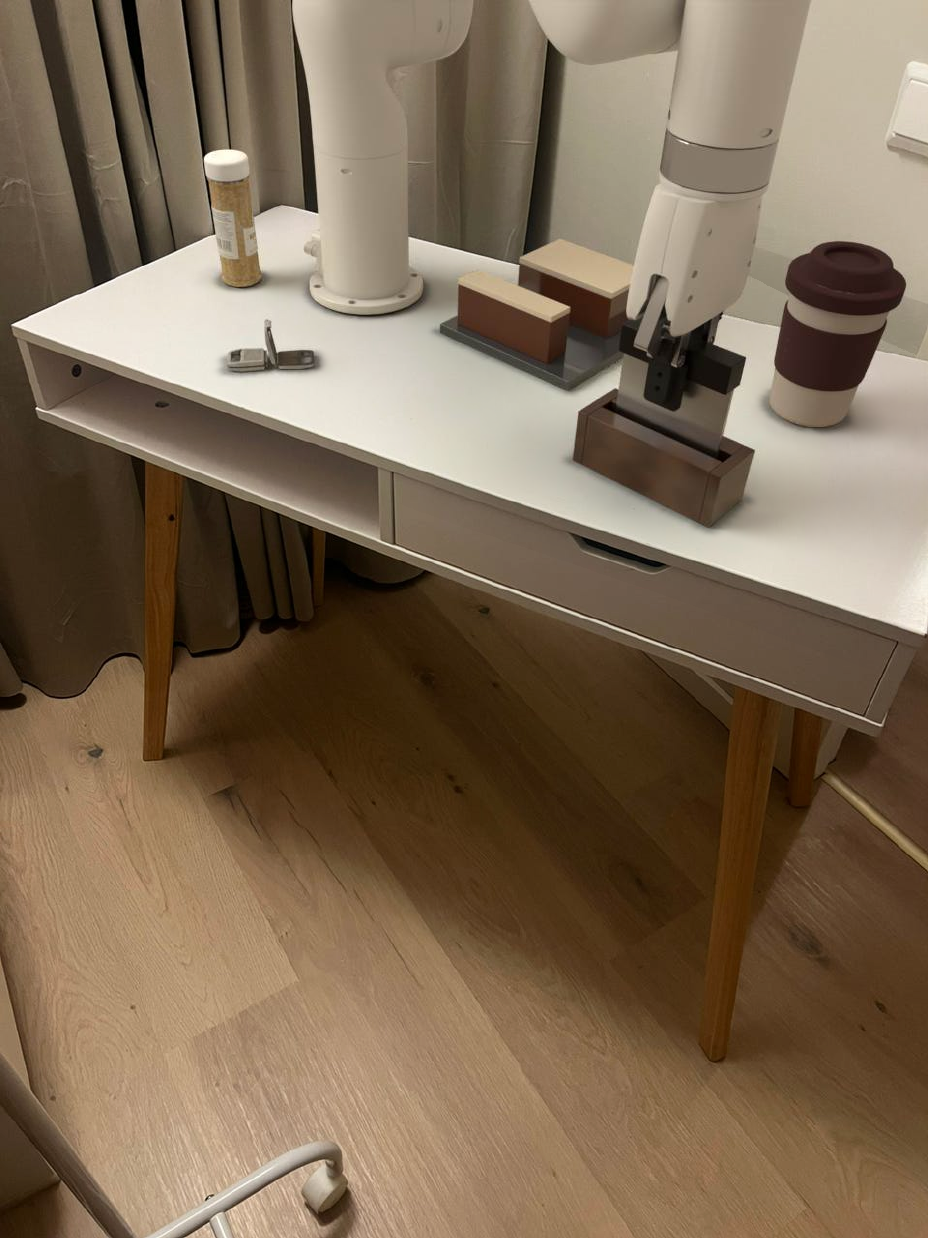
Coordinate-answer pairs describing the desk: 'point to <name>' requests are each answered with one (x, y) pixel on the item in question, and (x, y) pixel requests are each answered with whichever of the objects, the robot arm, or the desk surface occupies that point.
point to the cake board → (555, 371)
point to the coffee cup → (831, 329)
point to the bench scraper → (702, 396)
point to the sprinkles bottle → (233, 216)
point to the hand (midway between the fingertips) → (671, 395)
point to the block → (661, 463)
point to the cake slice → (513, 316)
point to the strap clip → (258, 356)
